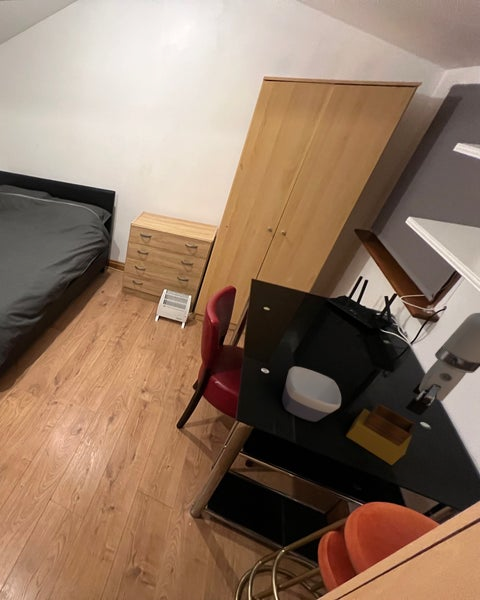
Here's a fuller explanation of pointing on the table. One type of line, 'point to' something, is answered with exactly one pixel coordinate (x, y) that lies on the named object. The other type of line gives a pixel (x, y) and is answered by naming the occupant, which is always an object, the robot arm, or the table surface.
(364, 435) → the box
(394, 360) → the table surface
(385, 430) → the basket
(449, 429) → the table surface
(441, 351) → the robot arm
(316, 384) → the bowl
